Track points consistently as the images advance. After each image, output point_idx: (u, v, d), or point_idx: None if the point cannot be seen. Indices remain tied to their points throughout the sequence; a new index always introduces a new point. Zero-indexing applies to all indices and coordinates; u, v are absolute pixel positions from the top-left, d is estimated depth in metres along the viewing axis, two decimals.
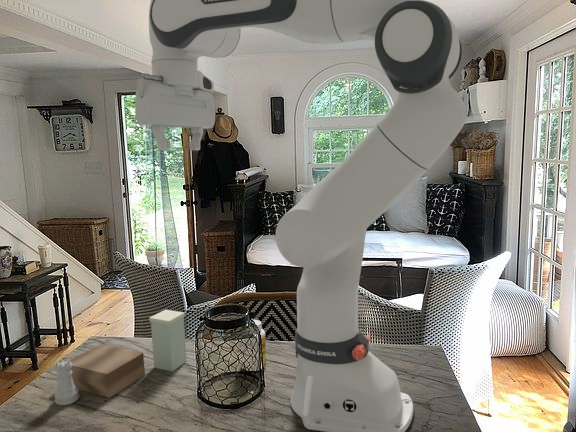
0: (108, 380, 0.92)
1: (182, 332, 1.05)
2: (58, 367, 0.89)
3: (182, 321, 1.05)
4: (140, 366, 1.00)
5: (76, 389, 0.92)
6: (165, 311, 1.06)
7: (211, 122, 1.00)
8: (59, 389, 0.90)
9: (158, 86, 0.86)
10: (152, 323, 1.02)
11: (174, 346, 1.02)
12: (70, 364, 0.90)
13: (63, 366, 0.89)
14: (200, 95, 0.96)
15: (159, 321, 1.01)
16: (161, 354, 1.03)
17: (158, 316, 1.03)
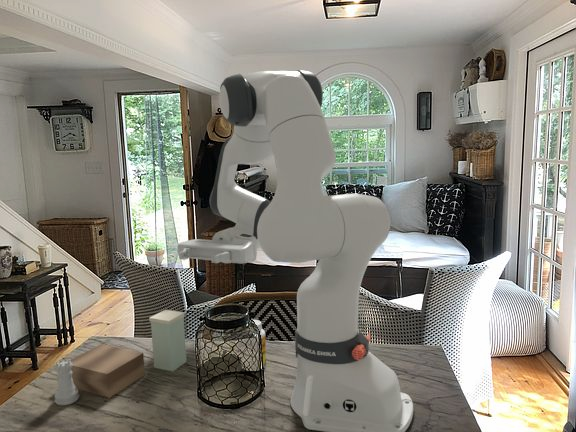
0: (108, 380, 0.92)
1: (182, 332, 1.05)
2: (58, 367, 0.89)
3: (182, 321, 1.05)
4: (140, 366, 1.00)
5: (76, 389, 0.92)
6: (165, 311, 1.06)
7: (239, 248, 1.14)
8: (59, 389, 0.90)
9: (200, 239, 1.26)
10: (152, 323, 1.02)
11: (174, 346, 1.02)
12: (70, 364, 0.90)
13: (63, 366, 0.89)
14: (236, 240, 1.20)
15: (159, 321, 1.01)
16: (161, 354, 1.03)
17: (158, 316, 1.03)
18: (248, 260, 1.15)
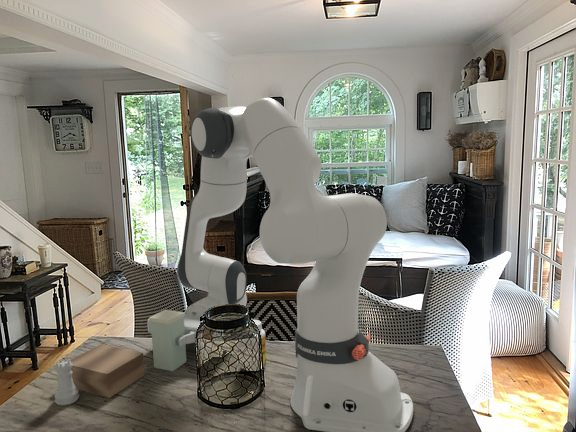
0: (108, 380, 0.92)
1: (182, 332, 1.05)
2: (58, 367, 0.89)
3: (182, 321, 1.05)
4: (140, 366, 1.00)
5: (76, 389, 0.92)
6: (165, 311, 1.06)
7: None
8: (59, 389, 0.90)
9: None
10: (152, 323, 1.02)
11: (174, 346, 1.02)
12: (70, 364, 0.90)
13: (63, 366, 0.89)
14: None
15: (159, 321, 1.01)
16: (161, 354, 1.03)
17: (158, 316, 1.03)
18: None
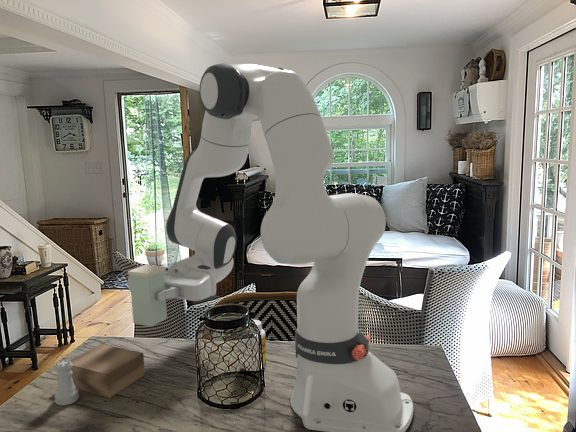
0: (108, 380, 0.92)
1: (162, 287, 1.02)
2: (58, 367, 0.89)
3: (163, 276, 1.02)
4: (140, 366, 1.00)
5: (76, 389, 0.92)
6: (145, 266, 1.03)
7: (193, 283, 1.02)
8: (59, 389, 0.90)
9: None
10: (131, 277, 0.99)
11: (153, 300, 0.99)
12: (70, 364, 0.90)
13: (63, 366, 0.89)
14: (192, 272, 1.08)
15: (138, 274, 0.98)
16: (140, 309, 1.00)
17: (137, 270, 1.00)
18: (204, 297, 1.03)
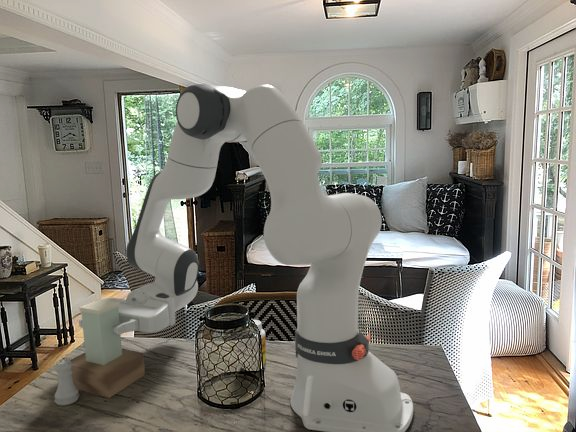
0: (108, 380, 0.92)
1: (116, 323, 0.98)
2: (58, 367, 0.89)
3: (117, 311, 0.98)
4: (140, 366, 1.00)
5: (76, 389, 0.92)
6: (99, 301, 0.99)
7: (149, 314, 0.98)
8: (59, 389, 0.90)
9: (113, 298, 1.09)
10: (82, 313, 0.95)
11: (106, 338, 0.95)
12: (70, 364, 0.90)
13: (63, 366, 0.89)
14: (150, 301, 1.04)
15: (89, 311, 0.94)
16: (92, 347, 0.96)
17: (89, 306, 0.96)
18: (160, 328, 0.99)
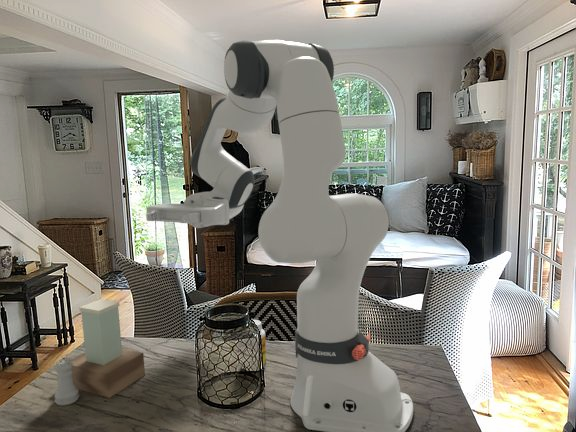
0: (108, 380, 0.92)
1: (116, 323, 0.98)
2: (58, 367, 0.89)
3: (117, 311, 0.98)
4: (140, 366, 1.00)
5: (76, 389, 0.92)
6: (99, 301, 0.99)
7: (209, 208, 1.09)
8: (59, 389, 0.90)
9: (171, 203, 1.21)
10: (82, 313, 0.95)
11: (106, 338, 0.95)
12: (70, 364, 0.90)
13: (63, 366, 0.89)
14: (207, 202, 1.15)
15: (89, 311, 0.94)
16: (92, 347, 0.96)
17: (89, 306, 0.96)
18: (219, 222, 1.10)
